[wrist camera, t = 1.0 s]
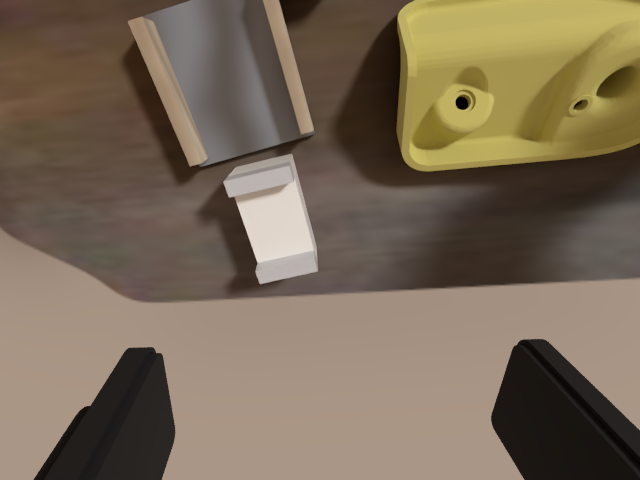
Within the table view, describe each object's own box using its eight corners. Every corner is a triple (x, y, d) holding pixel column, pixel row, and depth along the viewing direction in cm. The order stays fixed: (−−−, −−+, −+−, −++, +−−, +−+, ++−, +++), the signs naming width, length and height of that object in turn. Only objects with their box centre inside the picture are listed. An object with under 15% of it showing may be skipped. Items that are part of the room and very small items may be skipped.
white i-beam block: (292, 153, 30) (289, 165, 25) (316, 245, 33) (317, 271, 29) (235, 166, 30) (223, 181, 26) (266, 257, 34) (259, 284, 29)
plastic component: (399, 174, 28) (410, 42, 21) (387, 123, 33) (393, 1, 25) (659, 151, 27) (776, 0, 19) (608, 101, 32) (685, -36, 24)
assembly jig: (272, -24, 24) (269, -36, 22) (314, 133, 29) (315, 137, 27) (140, 19, 25) (123, 12, 23) (201, 165, 30) (192, 172, 27)
